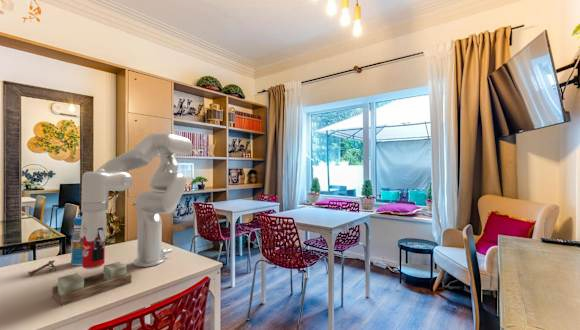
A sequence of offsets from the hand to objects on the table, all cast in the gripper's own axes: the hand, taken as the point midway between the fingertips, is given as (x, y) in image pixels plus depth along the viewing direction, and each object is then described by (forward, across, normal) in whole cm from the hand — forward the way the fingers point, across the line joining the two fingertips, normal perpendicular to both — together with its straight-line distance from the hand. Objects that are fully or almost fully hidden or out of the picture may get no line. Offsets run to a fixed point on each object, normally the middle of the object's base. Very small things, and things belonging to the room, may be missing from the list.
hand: (93, 257), depth 91 cm
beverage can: (+3, 0, 0) cm, 3 cm away
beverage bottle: (+11, -32, +6) cm, 35 cm away
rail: (+11, 0, 0) cm, 11 cm away
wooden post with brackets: (+11, -31, -7) cm, 34 cm away
